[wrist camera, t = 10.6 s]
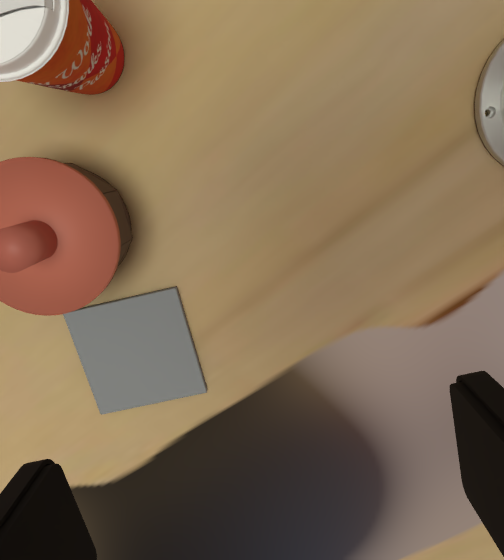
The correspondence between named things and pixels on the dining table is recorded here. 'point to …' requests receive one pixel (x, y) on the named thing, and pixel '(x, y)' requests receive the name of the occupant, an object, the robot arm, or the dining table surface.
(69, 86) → the coffee cup
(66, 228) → the lid
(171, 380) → the mat
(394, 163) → the dining table surface
